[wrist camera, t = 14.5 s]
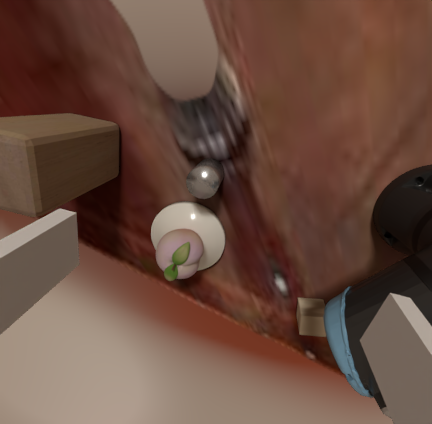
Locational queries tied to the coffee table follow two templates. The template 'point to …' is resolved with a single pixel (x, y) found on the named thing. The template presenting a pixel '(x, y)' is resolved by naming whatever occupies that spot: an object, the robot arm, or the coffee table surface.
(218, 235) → the cream plate
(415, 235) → the robot arm
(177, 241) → the decorative fruit
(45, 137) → the block
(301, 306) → the birch cube
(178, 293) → the coffee table surface
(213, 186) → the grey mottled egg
